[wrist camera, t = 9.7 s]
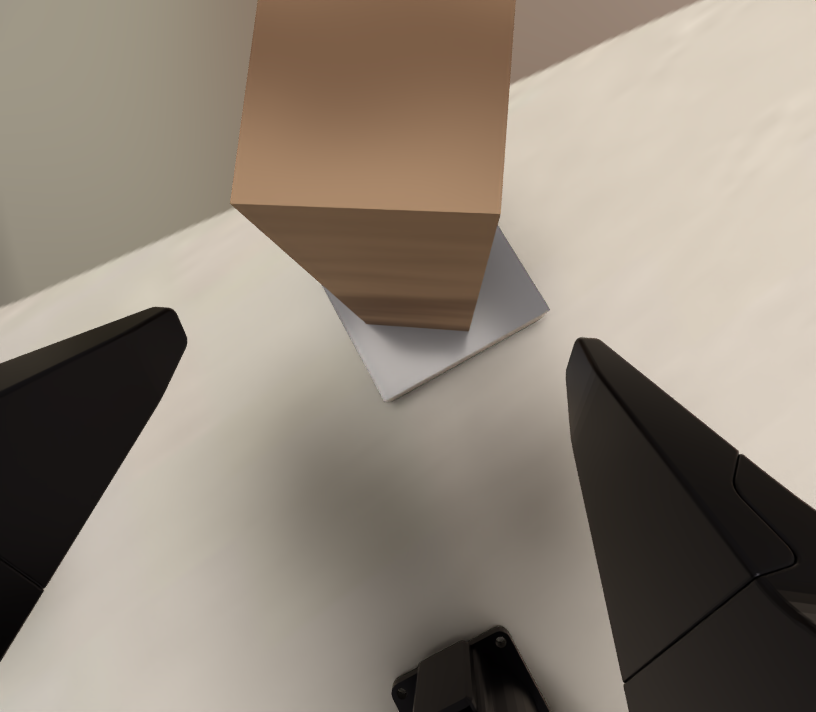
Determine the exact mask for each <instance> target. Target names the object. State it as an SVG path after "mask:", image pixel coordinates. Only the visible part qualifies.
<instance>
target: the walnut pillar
mask: <svg viewBox="0 0 816 712" xmlns="http://www.w3.org/2000/svg"><path fill="white" fill-rule="evenodd" d="M515 2H516V0H258V3H257V11H256V17H255V25H254V32H253V39H252V47H251V54H250V62H249V69H248V77H247V83H246V90H245V98H244V105H243V113H242V120H241V127H240V134H239V143H238V149H237V156H236V164H235V171H234V179H233V186H232V193H231V201H230V204H231V205H232V206H233V207H235V208H236V209H237V210H238V211H239V212H240V213H241V214H242V215H244V216H245V217H246V218H247V219H248V220H249V221H250V222H252V223H253V224H254V225H255V226H256V227H257V228H258V229H259V230H261V231H262V232H263V233H264V234H265V235H266V236H267V237H269V238H270V239H271V240H272V241H273V242H274V243H275V244H276V245H278V246H279V247H280V248H281V249H282V250H283V251H284V252H286V253H287V254H288V255H289V256H290V257H291V258H292V259H293V260H295V261H296V262H297V263H298V264H299V265H300V266H301V267H302V268H304V269H305V270H306V271H307V272H308V273H309V274H310V275H312V276H313V277H314V278H315V279H316V280H317V281H318V282H319V283H321V284H322V285H323V286H324V287H325V288H326V289H327V290H329V291H330V292H331V293H332V294H333V295H334V296H335V297H336V298H338V299H339V300H340V301H341V302H342V303H343V304H344V305H346V306H347V307H348V308H349V309H350V310H351V311H352V312H353V313H355V314H356V315H357V316H358V317H359V318H360V319H361V320H363V321H364V322H365V323H366V324H372V325H386V326H400V327H414V328H428V329H442V330H456V331H469V329H470V325H471V322H472V318H473V314H474V311H475V307H476V303H477V299H478V296H479V292H480V288H481V285H482V281H483V277H484V273H485V270H486V266H487V262H488V259H489V255H490V251H491V247H492V244H493V240H494V236H495V233H496V229H497V225H498V221H499V218H500V214H501V200H502V186H503V172H504V157H505V143H506V129H507V115H508V101H509V87H510V71H511V58H512V43H513V30H514V16H515Z"/></svg>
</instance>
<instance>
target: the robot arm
mask: <svg viewBox="0 0 816 712" xmlns="http://www.w3.org/2000/svg"><path fill="white" fill-rule="evenodd" d="M186 346H187V336H186V334H185V331H184V329H183V327H182V324H181V322H180V320H179V318H178V315H177V313H176V312H175V311H174V310H173V309H171V308H166V307H152V308H149V309H146V310H143V311H141V312H138V313H135V314H133V315H130V316H127V317H124V318H122V319H119V320H116V321H114V322H111V323H108V324H106V325H103V326H100V327H97V328H95V329H92V330H89V331H87V332H84V333H81V334H79V335H76V336H73V337H70V338H68V339H65V340H62V341H60V342H57V343H54V344H51V345H49V346H46V347H43V348H41V349H38V350H35V351H33V352H30V353H27V354H24V355H22V356H19V357H16V358H14V359H11V360H8V361H6V362H3V363H0V662H1V660H2V658H3V657H4V655H5V654H6V652H7V650H8V649H9V647H10V645H11V644H12V642H13V641H14V639H15V637H16V636H17V634H18V632H19V631H20V629H21V628H22V626H23V624H24V623H25V621H26V619H27V618H28V616H29V615H30V613H31V611H32V610H33V608H34V606H35V605H36V603H37V602H38V600H39V598H40V597H41V595H42V593H43V592H44V588H45V587H46V586H47V585H48V583H49V581H50V580H51V578H52V576H53V575H54V573H55V572H56V570H57V568H58V567H59V565H60V563H61V562H62V560H63V559H64V557H65V555H66V554H67V552H68V550H69V549H70V547H71V546H72V544H73V542H74V541H75V539H76V537H77V536H78V534H79V533H80V531H81V529H82V528H83V526H84V524H85V523H86V521H87V520H88V518H89V516H90V515H91V513H92V511H93V510H94V508H95V506H96V505H97V503H98V502H99V500H100V498H101V497H102V495H103V493H104V492H105V490H106V489H107V487H108V485H109V484H110V482H111V480H112V479H113V477H114V476H115V474H116V472H117V471H118V469H119V467H120V466H121V464H122V463H123V461H124V459H125V458H126V456H127V454H128V453H129V451H130V450H131V448H132V446H133V445H134V443H135V441H136V440H137V438H138V437H139V435H140V433H141V432H142V430H143V428H144V427H145V425H146V424H147V422H148V420H149V419H150V417H151V415H152V414H153V412H154V411H155V409H156V407H157V406H158V404H159V402H160V400H161V399H162V397H163V395H164V393H165V391H166V389H167V387H168V384H169V382H170V380H171V378H172V376H173V374H174V372H175V370H176V368H177V366H178V363H179V361H180V359H181V357H182V355H183V353H184V351H185V349H186ZM566 387H567V399H568V412H569V424H570V435H571V442H572V448H573V453H574V458H575V462H576V467H577V471H578V476H579V481H580V485H581V490H582V495H583V499H584V504H585V509H586V513H587V518H588V522H589V527H590V532H591V536H592V541H593V546H594V550H595V555H596V560H597V564H598V569H599V573H600V578H601V583H602V587H603V592H604V597H605V601H606V606H607V611H608V615H609V620H610V624H611V629H612V634H613V638H614V643H615V648H616V652H617V657H618V662H619V666H620V671H621V675H622V680H623V682H624V683H625V684H624V691H625V695H626V700H627V705H628V709H629V712H816V510H815V509H813V508H812V507H811V506H809V505H808V504H807V503H805V502H804V501H802V500H801V499H800V498H798V497H797V496H796V495H794V494H793V493H792V492H790V491H789V490H788V489H786V488H785V487H784V486H783V485H781V484H780V483H779V482H777V481H776V480H775V479H774V478H772V477H771V476H770V475H768V474H767V473H766V472H765V471H763V470H762V469H761V468H759V467H758V466H757V465H756V464H754V463H753V462H752V461H751V460H750V459H748V458H747V457H746V456H745V455H743V454H739V451H738V450H737V449H736V448H734V447H733V446H732V445H731V444H729V443H728V442H727V441H726V440H724V439H723V438H722V437H721V436H719V435H718V434H717V433H716V432H714V431H713V430H712V429H711V428H709V427H708V426H707V425H706V424H704V423H703V422H702V421H701V420H699V419H698V418H697V417H696V416H694V415H693V414H692V413H691V412H689V411H688V410H687V409H686V408H684V407H683V406H682V405H681V404H679V403H678V402H677V401H676V400H674V399H673V398H672V397H671V396H669V395H668V394H667V393H666V392H664V391H663V390H662V389H661V388H660V387H658V386H657V385H656V384H655V383H653V382H652V381H651V380H650V379H648V378H647V377H646V376H645V375H643V374H642V373H641V372H640V371H638V370H637V369H636V368H635V367H633V366H632V365H631V364H630V363H628V362H627V361H626V360H625V359H623V358H622V357H621V356H620V355H618V354H617V353H616V352H615V351H613V350H612V349H611V348H610V347H608V346H607V345H606V344H605V343H603V342H602V341H601V340H599V339H597V338H583V337H580V338H578V339H577V340H576V341H575V343H574V346H573V349H572V353H571V356H570V359H569V362H568V365H567V369H566ZM498 637H504V638H505V641H504V642H502V643H499V642H497V641H496V639H497V638H498ZM399 688H403V689H405V690H406V693H403V694H402V693H400V692H399V691H398V689H399ZM392 697H393V700H394V702H395V704H396V706H397V708H398V710H399V712H551V711H550V709H549V707H548V705H547V703H546V701H545V700H544V698H543V696H542V694H541V692H540V690H539V688H538V686H537V684H536V683H535V681H534V679H533V677H532V675H531V673H530V671H529V669H528V668H527V666H526V664H525V662H524V660H523V658H522V656H521V654H520V653H519V651H518V649H517V647H516V645H515V643H514V641H513V639H512V638H511V636H510V634H509V632H508V631H507V630H506V629H505V628H503V627H495V628H493V629H491V630H489V631H487V632H485V633H483V634H482V635H480V636H478V637H476V638H474V639H472V640H470V641H468V642H467V641H460V642H458V643H456V644H454V645H452V646H450V647H448V648H446V649H445V650H443V651H441V652H439V653H437V654H435V655H433V656H431V657H429V658H427V659H425V660H423V661H422V662H420V664H419V667H418V668H416V669H415V670H413V671H411V672H409V673H407V674H405V675H403V676H401V677H399V678H398V679H396V680H395V682H394V684H393V687H392Z"/></svg>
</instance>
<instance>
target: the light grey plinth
mask: <svg viewBox="0 0 816 712" xmlns="http://www.w3.org/2000/svg"><path fill="white" fill-rule="evenodd" d="M322 286H323V285H322ZM323 288H324V290H325V292H326V294H327V295H328V297H329V299H330V301H331V303H332V305H333V307H334V309H335V311H336V312H337V314H338V316H339V318H340V320H341V322H342V324H343V326H344V327H345V329H346V331H347V333H348V335H349V337H350V339H351V341H352V342H353V344H354V346H355V348H356V350H357V352H358V354H359V356H360V358H361V359H362V361H363V363H364V365H365V367H366V369H367V371H368V373H369V374H370V376H371V378H372V380H373V382H374V384H375V386H376V388H377V389H378V391H379V393H380V395H381V397H382V399H383V401H384V402H392V401H394V400H395V399H397V398H399V397H401V396H403V395H404V394H406V393H408V392H410V391H412V390H413V389H415V388H417V387H419V386H421V385H422V384H424V383H426V382H428V381H430V380H431V379H433V378H435V377H437V376H439V375H440V374H442V373H444V372H446V371H448V370H449V369H451V368H453V367H455V366H457V365H458V364H460V363H462V362H464V361H466V360H467V359H469V358H471V357H473V356H475V355H477V354H478V353H480V352H482V351H484V350H486V349H487V348H489V347H491V346H493V345H495V344H496V343H498V342H500V341H502V340H504V339H505V338H507V337H509V336H511V335H513V334H514V333H516V332H518V331H520V330H522V329H523V328H525V327H527V326H529V325H531V324H532V323H534V322H536V321H538V320H539V319H540V318H542V317H543V316H544V315H545V314H546V313H547V312H548V311H549V310H550V309H549V307H548V305H547V304H546V302H545V301H544V299H543V297H542V296H541V294H540V292H539V291H538V289H537V288H536V286H535V284H534V283H533V281H532V280H531V278H530V276H529V275H528V273H527V271H526V270H525V268H524V267H523V265H522V263H521V262H520V260H519V259H518V257H517V255H516V254H515V252H514V251H513V249H512V247H511V246H510V244H509V242H508V241H507V239H506V238H505V236H504V234H503V233H502V231H501V230H500V228H499V226H498V225H497V229H496V233H495V236H494V240H493V244H492V247H491V251H490V255H489V259H488V262H487V266H486V270H485V273H484V277H483V281H482V285H481V288H480V292H479V296H478V299H477V303H476V307H475V311H474V314H473V318H472V322H471V325H470V329H469V331H456V330H442V329H428V328H414V327H400V326H386V325H372V324H366V323H365V322H364V321H363V320H361V319H360V318H359V317H358V316H357V315H356V314H355V313H353V312H352V311H351V310H350V309H349V308H348V307H347V306H346V305H344V304H343V303H342V302H341V301H340V300H339V299H338V298H336V297H335V296H334V295H333V294H332V293H331V292H330V291H329V290H327V289H326V288H325V287H324V286H323Z"/></svg>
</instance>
